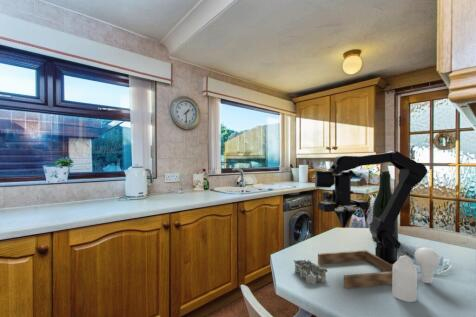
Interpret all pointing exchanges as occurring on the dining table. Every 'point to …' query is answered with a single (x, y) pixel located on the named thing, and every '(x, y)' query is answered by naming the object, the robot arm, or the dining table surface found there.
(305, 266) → the egg carton
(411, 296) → the roll
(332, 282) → the dining table surface
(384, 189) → the beer bottle
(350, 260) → the open wooden frame
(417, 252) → the lightbulb
